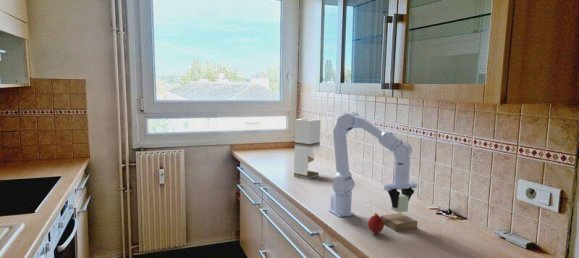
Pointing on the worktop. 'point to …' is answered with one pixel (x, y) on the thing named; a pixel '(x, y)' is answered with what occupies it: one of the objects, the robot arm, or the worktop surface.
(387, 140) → the robot arm
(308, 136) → the white coffee machine
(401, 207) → the sage block
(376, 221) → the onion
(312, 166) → the worktop surface
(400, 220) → the walnut base
